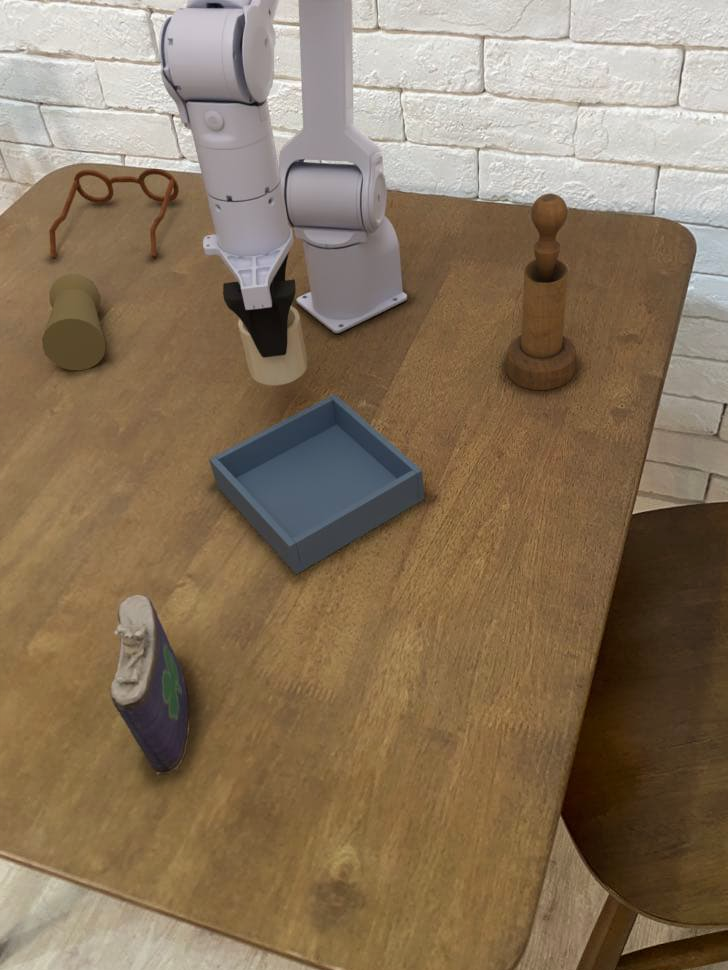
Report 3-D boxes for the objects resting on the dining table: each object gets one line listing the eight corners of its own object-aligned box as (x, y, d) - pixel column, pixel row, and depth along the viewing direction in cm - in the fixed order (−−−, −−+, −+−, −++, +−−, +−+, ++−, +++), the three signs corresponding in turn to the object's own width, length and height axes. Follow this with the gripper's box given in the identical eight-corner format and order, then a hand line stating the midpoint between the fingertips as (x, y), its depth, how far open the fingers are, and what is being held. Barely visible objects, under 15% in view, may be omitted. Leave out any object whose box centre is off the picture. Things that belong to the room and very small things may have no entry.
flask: (151, 667, 71) (109, 578, 63) (190, 661, 71) (153, 571, 63) (146, 778, 65) (99, 694, 57) (189, 771, 65) (147, 687, 57)
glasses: (183, 202, 118) (174, 164, 115) (156, 259, 110) (144, 220, 106) (84, 204, 120) (71, 166, 116) (49, 260, 111) (34, 221, 107)
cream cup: (287, 342, 86) (278, 295, 82) (318, 368, 83) (310, 321, 79) (238, 365, 84) (227, 318, 80) (268, 393, 81) (257, 346, 77)
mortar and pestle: (529, 399, 89) (537, 226, 75) (493, 363, 93) (495, 192, 79) (587, 375, 90) (605, 202, 77) (550, 341, 94) (561, 170, 81)
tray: (339, 422, 88) (334, 393, 86) (424, 499, 81) (422, 469, 78) (217, 487, 84) (208, 458, 81) (296, 574, 76) (289, 546, 74)
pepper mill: (74, 307, 91) (75, 254, 99) (28, 341, 93) (33, 286, 100) (118, 348, 96) (116, 294, 103) (74, 380, 97) (75, 325, 105)
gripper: (193, 145, 75) (228, 291, 85) (185, 239, 66) (225, 391, 76) (280, 135, 75) (305, 282, 86) (286, 227, 66) (312, 381, 76)
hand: (273, 333), depth 81 cm, fingers closed on cream cup, 5 cm apart
